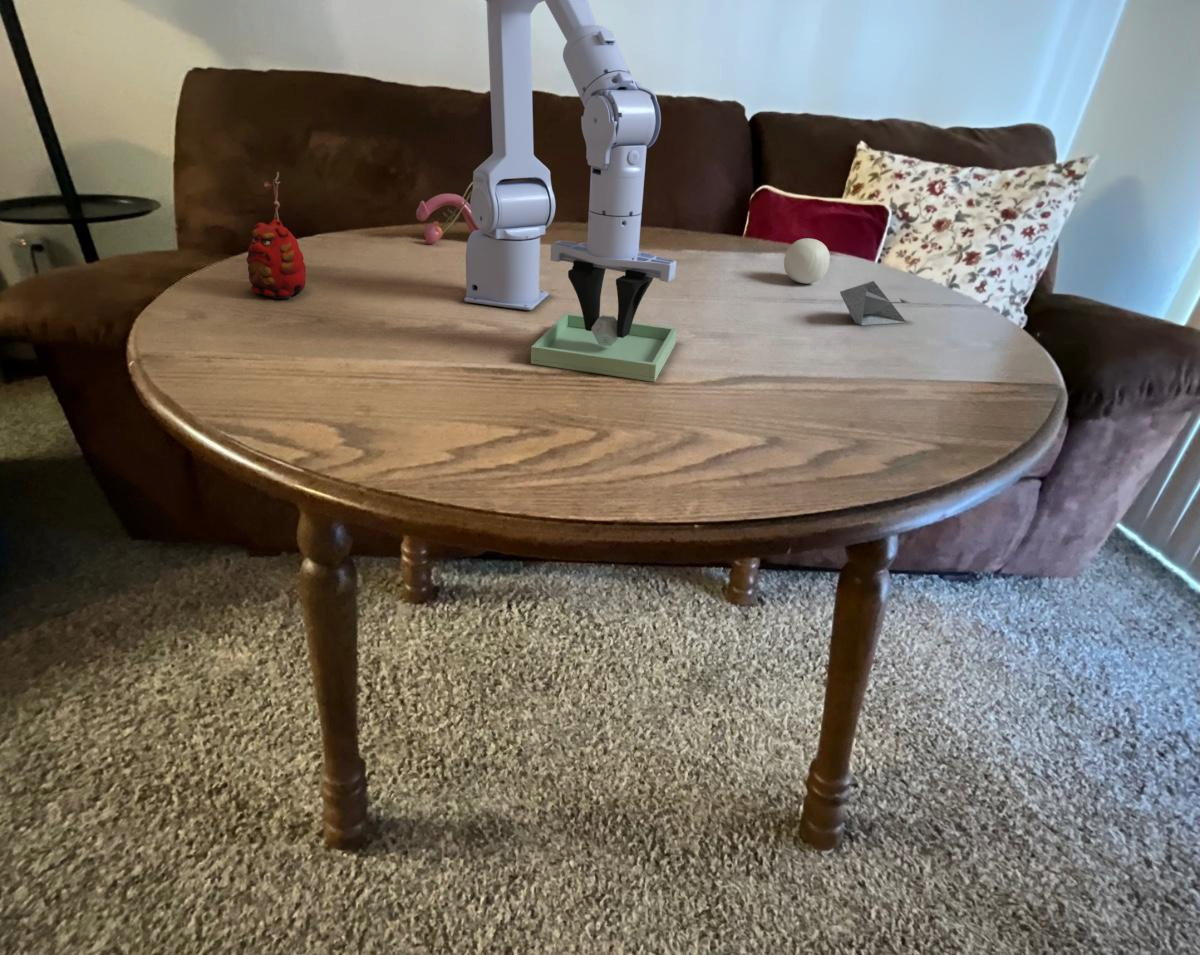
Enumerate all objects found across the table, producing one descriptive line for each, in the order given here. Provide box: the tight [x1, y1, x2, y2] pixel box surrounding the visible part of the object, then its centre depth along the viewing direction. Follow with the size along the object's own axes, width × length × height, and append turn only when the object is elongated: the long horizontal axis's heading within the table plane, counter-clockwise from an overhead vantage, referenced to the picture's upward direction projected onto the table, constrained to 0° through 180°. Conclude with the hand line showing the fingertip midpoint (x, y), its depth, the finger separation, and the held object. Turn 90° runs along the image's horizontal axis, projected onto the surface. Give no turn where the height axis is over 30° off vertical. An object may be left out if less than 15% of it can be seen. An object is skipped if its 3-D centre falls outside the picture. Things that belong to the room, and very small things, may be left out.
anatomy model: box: [415, 181, 479, 245], centre depth 141 cm, size 10×14×15 cm
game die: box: [591, 314, 619, 346], centre depth 98 cm, size 4×4×3 cm
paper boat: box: [839, 280, 911, 326], centre depth 113 cm, size 12×6×9 cm
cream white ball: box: [783, 237, 831, 285], centre depth 130 cm, size 7×7×7 cm
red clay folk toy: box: [245, 171, 307, 300], centre depth 109 cm, size 8×7×15 cm
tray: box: [530, 312, 678, 383], centre depth 99 cm, size 14×13×2 cm
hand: (607, 331), depth 98 cm, fingers closed on game die, 3 cm apart
